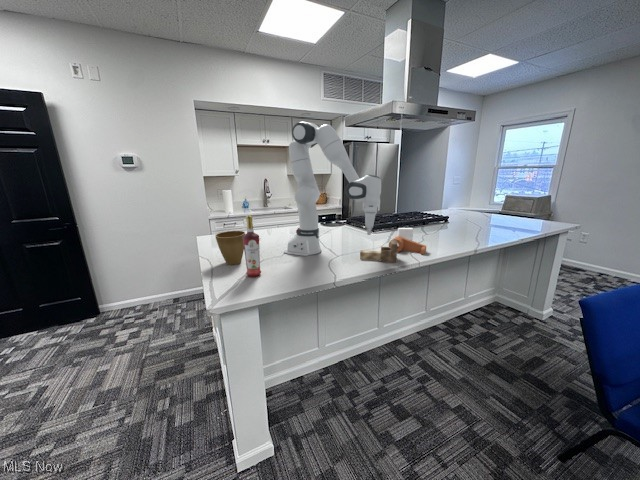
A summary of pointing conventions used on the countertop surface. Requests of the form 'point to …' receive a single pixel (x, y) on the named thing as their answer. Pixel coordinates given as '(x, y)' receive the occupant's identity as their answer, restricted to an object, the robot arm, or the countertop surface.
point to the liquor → (251, 249)
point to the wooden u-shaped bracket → (389, 252)
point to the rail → (370, 255)
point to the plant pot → (231, 246)
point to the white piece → (405, 233)
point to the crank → (409, 245)
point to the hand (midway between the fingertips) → (369, 232)
